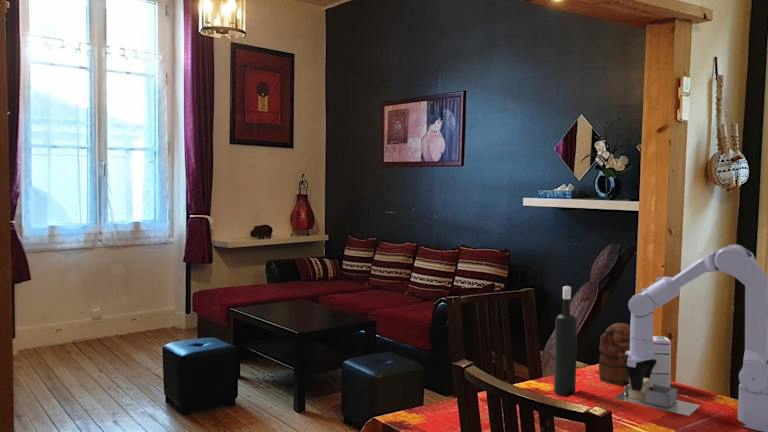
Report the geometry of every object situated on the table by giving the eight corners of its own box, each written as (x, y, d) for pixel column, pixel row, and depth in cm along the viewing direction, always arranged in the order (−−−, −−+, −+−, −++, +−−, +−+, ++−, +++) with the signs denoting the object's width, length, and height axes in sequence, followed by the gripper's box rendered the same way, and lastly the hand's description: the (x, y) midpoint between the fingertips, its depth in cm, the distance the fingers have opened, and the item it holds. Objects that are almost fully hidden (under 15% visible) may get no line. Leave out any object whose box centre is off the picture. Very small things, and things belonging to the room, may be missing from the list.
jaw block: (649, 396, 172) (649, 378, 171) (644, 400, 169) (644, 382, 168) (634, 393, 174) (634, 375, 174) (628, 397, 171) (629, 379, 171)
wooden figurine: (607, 388, 181) (608, 326, 180) (596, 381, 188) (598, 321, 187) (645, 387, 183) (647, 325, 182) (634, 380, 189) (636, 320, 188)
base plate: (700, 408, 166) (700, 395, 165) (689, 419, 158) (689, 405, 158) (627, 392, 178) (627, 380, 178) (613, 401, 170) (613, 389, 170)
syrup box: (671, 392, 179) (672, 341, 178) (648, 390, 180) (650, 340, 179) (666, 385, 184) (667, 336, 184) (644, 384, 186) (646, 335, 185)
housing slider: (677, 399, 168) (677, 388, 168) (668, 407, 163) (668, 395, 163) (653, 394, 172) (654, 383, 172) (644, 401, 167) (644, 390, 167)
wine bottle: (554, 395, 175) (557, 287, 174) (553, 388, 181) (555, 284, 179) (576, 396, 174) (579, 288, 173) (574, 390, 180) (576, 285, 178)
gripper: (636, 330, 178) (634, 378, 179) (616, 340, 168) (614, 390, 168) (662, 334, 174) (660, 383, 175) (643, 345, 163) (642, 397, 164)
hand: (640, 387), depth 171 cm, fingers open, 5 cm apart
